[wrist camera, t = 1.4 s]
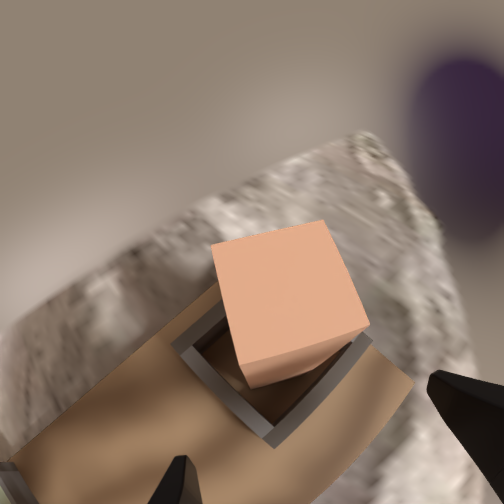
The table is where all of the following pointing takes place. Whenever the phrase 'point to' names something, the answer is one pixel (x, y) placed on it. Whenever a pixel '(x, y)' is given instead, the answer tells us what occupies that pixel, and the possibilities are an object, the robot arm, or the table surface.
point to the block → (287, 301)
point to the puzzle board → (208, 423)
